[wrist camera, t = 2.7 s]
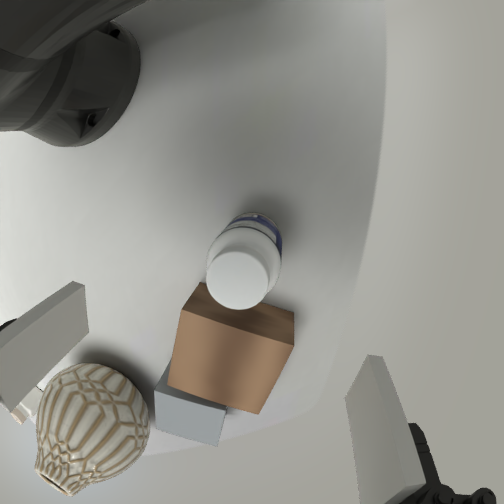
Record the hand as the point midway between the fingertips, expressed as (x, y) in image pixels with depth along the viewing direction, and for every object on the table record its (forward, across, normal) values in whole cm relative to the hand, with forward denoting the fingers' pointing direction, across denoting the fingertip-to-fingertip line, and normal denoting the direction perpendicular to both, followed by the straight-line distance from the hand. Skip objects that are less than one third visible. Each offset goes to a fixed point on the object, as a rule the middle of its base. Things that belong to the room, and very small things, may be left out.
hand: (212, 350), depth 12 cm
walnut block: (+17, 0, -11) cm, 20 cm away
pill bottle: (+16, 0, 0) cm, 17 cm away
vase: (+17, -16, -27) cm, 35 cm away
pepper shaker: (+17, -38, -42) cm, 59 cm away
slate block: (+17, -3, -21) cm, 27 cm away
